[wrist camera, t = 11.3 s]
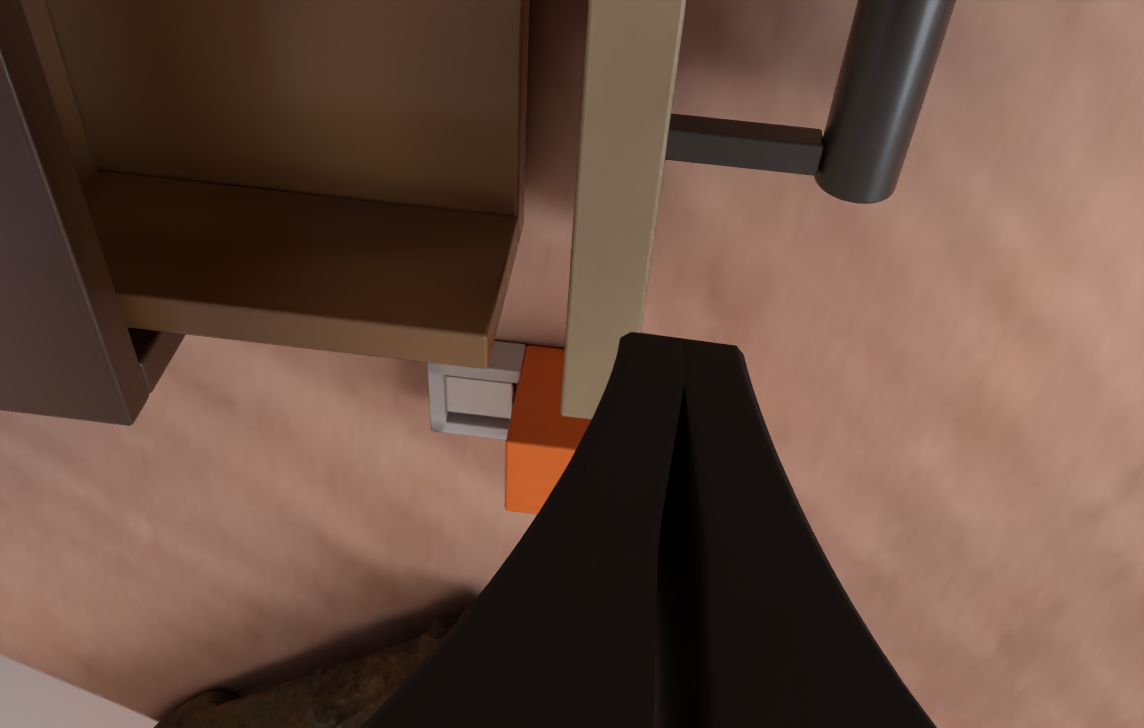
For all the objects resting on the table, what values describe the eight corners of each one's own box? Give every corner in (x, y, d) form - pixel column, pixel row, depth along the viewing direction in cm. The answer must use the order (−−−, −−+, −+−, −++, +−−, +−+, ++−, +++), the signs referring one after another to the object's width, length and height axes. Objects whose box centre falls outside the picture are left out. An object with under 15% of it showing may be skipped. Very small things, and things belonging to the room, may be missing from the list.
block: (693, 362, 24) (690, 463, 22) (680, 431, 26) (676, 532, 23) (435, 333, 24) (404, 430, 22) (438, 403, 26) (410, 499, 24)
